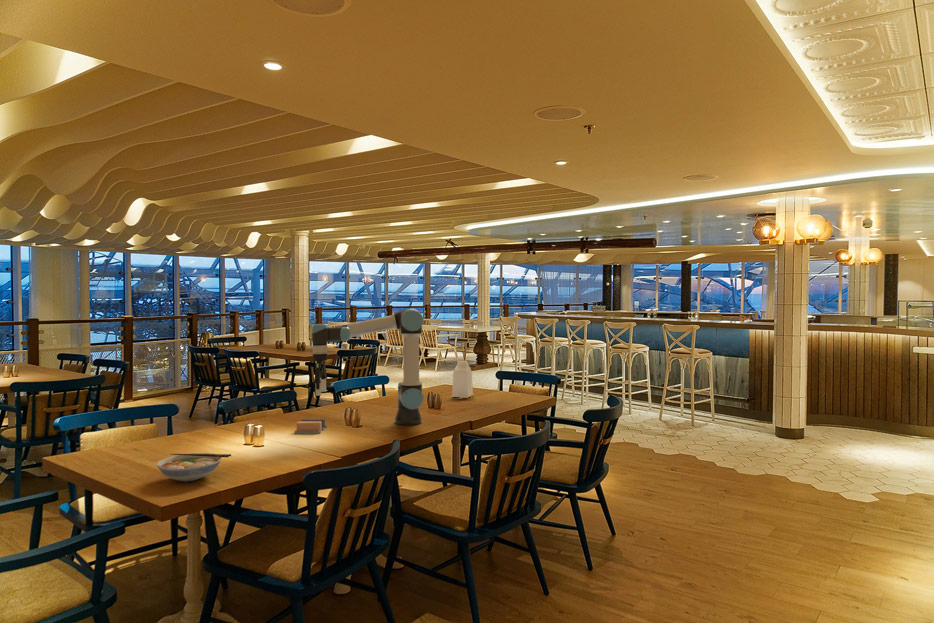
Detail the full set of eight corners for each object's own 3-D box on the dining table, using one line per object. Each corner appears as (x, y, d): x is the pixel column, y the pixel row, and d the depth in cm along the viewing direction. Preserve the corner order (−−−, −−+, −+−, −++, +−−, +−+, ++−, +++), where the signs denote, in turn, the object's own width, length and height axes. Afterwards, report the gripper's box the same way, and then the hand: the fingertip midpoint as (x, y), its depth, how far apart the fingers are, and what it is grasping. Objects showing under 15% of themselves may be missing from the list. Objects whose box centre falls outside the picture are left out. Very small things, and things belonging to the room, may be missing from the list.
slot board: (326, 428, 319) (326, 424, 319) (320, 435, 303) (320, 431, 303) (302, 428, 319) (302, 424, 319) (294, 435, 303) (294, 431, 303)
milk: (451, 397, 422) (452, 361, 421) (457, 395, 433) (457, 359, 432) (468, 398, 418) (468, 362, 418) (473, 396, 429) (473, 360, 429)
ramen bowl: (140, 486, 220) (139, 464, 220) (179, 469, 243) (179, 449, 242) (201, 490, 216) (201, 468, 216) (235, 472, 239) (235, 452, 238)
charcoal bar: (325, 427, 317) (325, 418, 317) (323, 429, 313) (323, 420, 313) (302, 427, 317) (302, 418, 317) (300, 429, 313) (300, 420, 313)
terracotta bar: (321, 430, 310) (321, 421, 310) (320, 432, 306) (320, 422, 306) (298, 430, 310) (298, 421, 310) (296, 432, 306) (296, 422, 306)
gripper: (317, 351, 325) (318, 389, 325) (307, 355, 300) (308, 397, 300) (331, 350, 325) (332, 389, 326) (322, 355, 300) (323, 397, 301)
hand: (321, 393), depth 313 cm, fingers open, 13 cm apart
